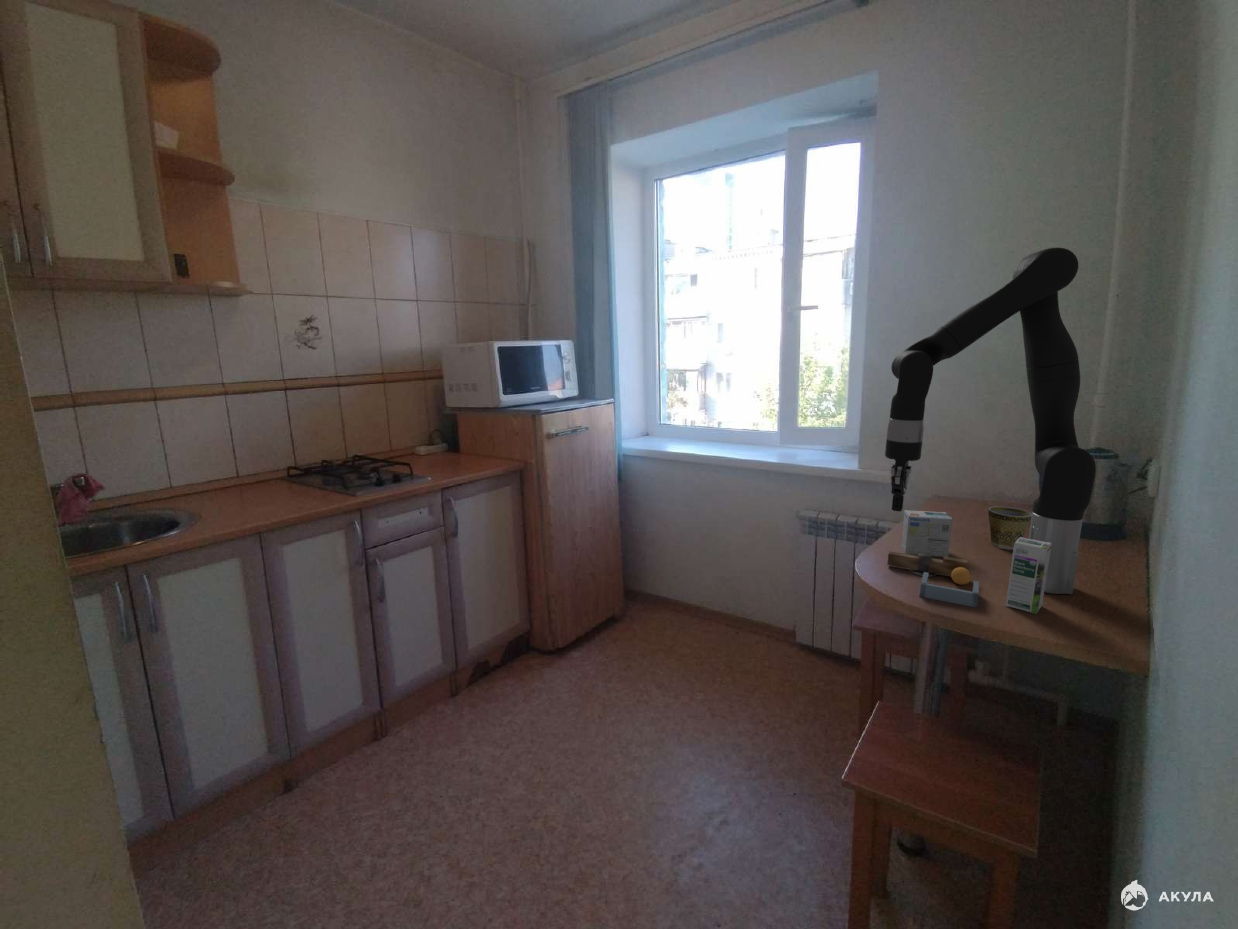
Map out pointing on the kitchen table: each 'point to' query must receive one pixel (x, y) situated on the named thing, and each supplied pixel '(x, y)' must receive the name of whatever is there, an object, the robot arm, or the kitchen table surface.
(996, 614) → the kitchen table surface
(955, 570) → the ball
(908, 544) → the light bulb box
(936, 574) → the pivot base
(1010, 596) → the syrup box
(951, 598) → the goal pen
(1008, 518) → the ceramic cup
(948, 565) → the tan wooden bar
